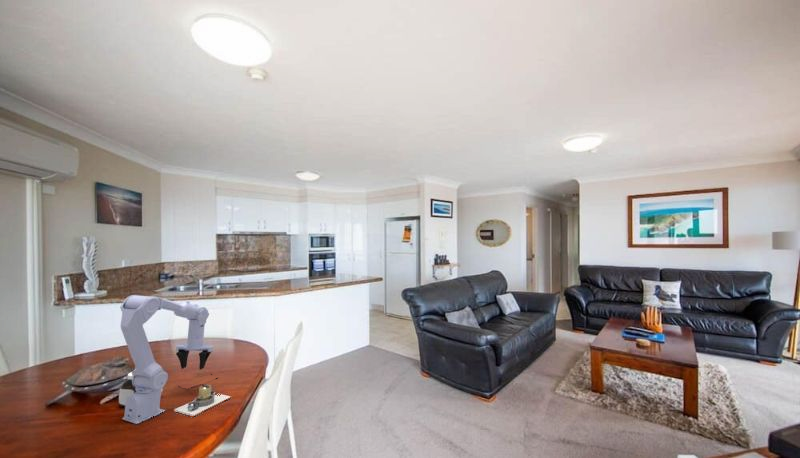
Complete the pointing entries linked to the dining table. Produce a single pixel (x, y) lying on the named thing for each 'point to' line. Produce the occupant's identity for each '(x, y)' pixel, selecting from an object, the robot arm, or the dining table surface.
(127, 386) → the spread jar
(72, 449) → the dining table surface
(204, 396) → the cylinder
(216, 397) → the base plate
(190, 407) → the steel shaft
